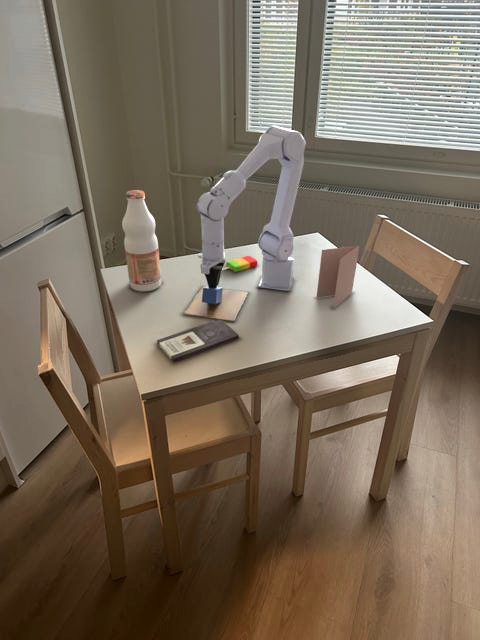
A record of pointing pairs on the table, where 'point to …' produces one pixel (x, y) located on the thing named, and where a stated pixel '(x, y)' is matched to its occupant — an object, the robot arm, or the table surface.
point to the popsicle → (241, 263)
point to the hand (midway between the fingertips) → (213, 286)
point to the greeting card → (337, 272)
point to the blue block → (212, 295)
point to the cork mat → (218, 306)
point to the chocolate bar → (197, 340)
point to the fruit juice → (141, 244)
